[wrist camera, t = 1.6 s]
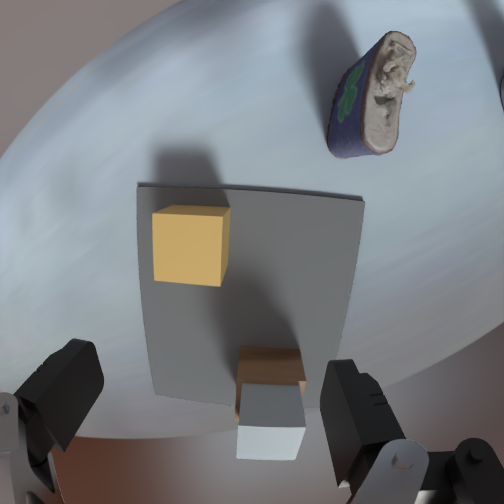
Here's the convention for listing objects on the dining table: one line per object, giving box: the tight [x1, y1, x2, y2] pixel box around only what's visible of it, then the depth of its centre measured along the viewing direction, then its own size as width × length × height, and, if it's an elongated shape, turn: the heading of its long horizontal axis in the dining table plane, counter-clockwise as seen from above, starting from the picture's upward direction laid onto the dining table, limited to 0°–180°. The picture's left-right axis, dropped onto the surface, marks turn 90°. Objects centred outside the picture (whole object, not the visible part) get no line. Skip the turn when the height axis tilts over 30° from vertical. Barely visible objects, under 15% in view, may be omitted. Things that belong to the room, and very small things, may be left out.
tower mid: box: [237, 383, 306, 460], centre depth 21 cm, size 5×5×5 cm
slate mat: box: [137, 187, 365, 408], centre depth 27 cm, size 24×20×1 cm
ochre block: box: [152, 205, 231, 287], centre depth 22 cm, size 5×5×5 cm
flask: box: [327, 31, 416, 159], centre depth 16 cm, size 9×3×11 cm, turn 163°
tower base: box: [235, 346, 306, 421], centre depth 26 cm, size 6×6×5 cm
